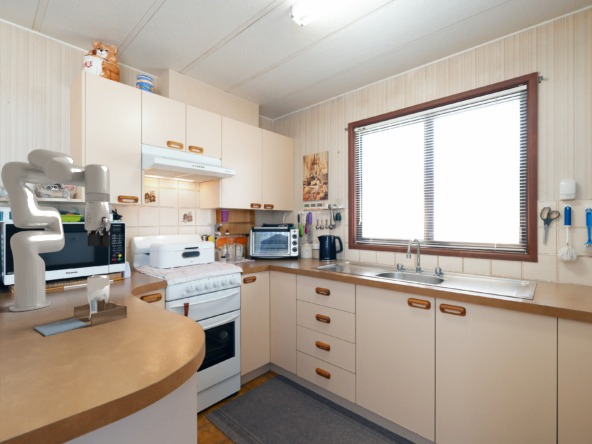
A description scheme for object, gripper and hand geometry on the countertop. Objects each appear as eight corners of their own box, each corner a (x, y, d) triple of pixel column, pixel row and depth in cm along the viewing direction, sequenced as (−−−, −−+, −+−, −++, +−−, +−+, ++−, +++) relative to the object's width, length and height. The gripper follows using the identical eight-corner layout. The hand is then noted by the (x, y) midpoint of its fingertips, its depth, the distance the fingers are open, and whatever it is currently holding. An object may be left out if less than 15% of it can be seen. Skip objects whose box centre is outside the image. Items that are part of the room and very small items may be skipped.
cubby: (74, 317, 106) (73, 306, 106) (107, 310, 115) (107, 300, 115) (92, 326, 96) (91, 314, 96) (126, 317, 105) (126, 306, 105)
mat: (34, 328, 95) (34, 327, 95) (74, 319, 104) (74, 318, 104) (45, 336, 88) (45, 335, 88) (87, 325, 97) (87, 324, 97)
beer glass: (114, 316, 107) (114, 275, 107) (94, 322, 101) (94, 279, 101) (102, 314, 110) (102, 274, 110) (82, 319, 103) (82, 277, 103)
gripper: (76, 200, 107) (77, 246, 107) (95, 196, 97) (96, 247, 97) (99, 201, 113) (100, 245, 113) (119, 198, 103) (120, 246, 103)
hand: (98, 246), depth 105 cm, fingers open, 9 cm apart
